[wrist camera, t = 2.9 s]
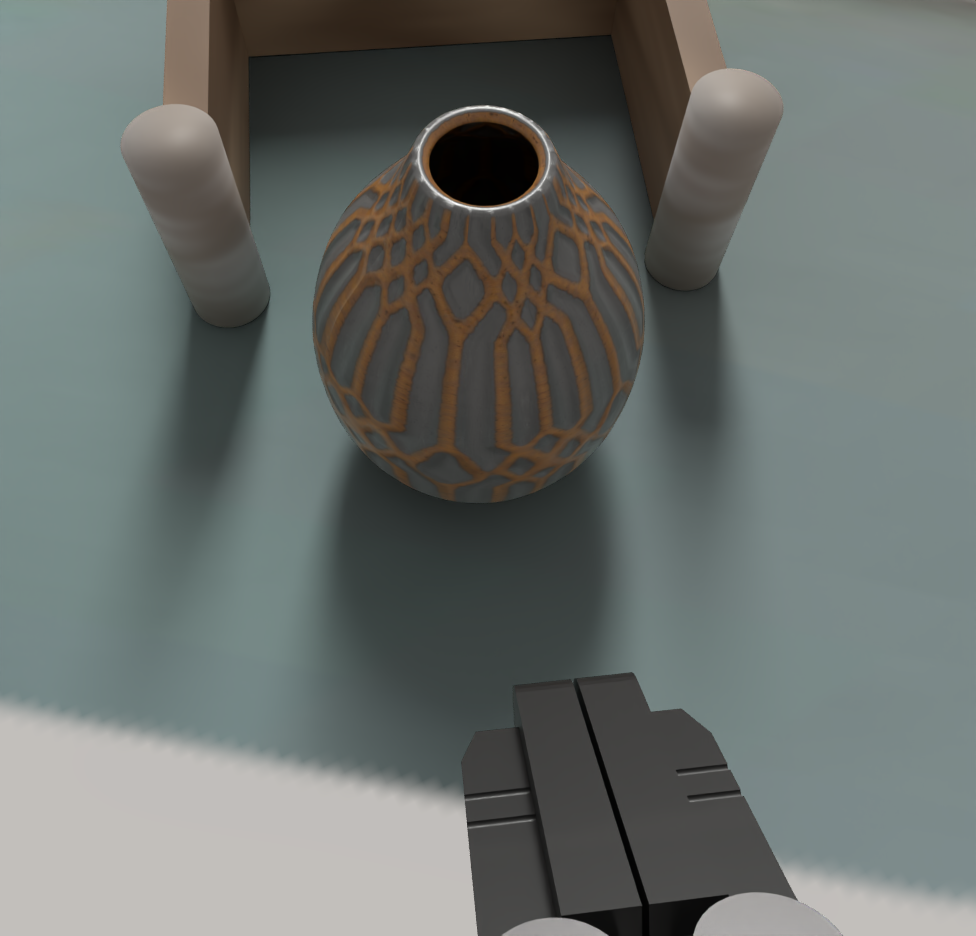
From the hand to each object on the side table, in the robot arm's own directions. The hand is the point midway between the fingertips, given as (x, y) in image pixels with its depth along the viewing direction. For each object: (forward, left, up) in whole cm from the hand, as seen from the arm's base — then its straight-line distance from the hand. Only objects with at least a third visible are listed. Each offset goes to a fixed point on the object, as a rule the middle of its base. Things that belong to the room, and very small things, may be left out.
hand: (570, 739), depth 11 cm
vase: (0, +9, -9) cm, 13 cm away
